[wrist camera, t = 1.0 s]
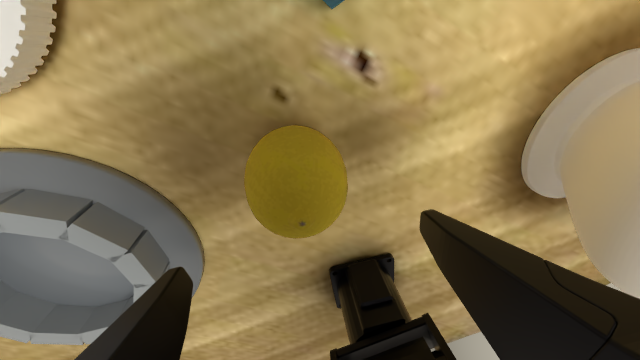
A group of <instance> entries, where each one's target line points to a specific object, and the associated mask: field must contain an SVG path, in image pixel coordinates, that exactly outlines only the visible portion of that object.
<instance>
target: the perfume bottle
mask: <svg viewBox="0 0 640 360" xmlns="http://www.w3.org/2000/svg"><path fill="white" fill-rule="evenodd" d="M323 1H324V2H325V3H326V4H327V5H328V6H329V7H330V8H331V9H333V8H334V7H336V6H337V5H339V4H340V3H341V2H343V1H344V0H323Z"/></svg>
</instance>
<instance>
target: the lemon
mask: <svg viewBox="0 0 640 360" xmlns="http://www.w3.org/2000/svg"><path fill="white" fill-rule="evenodd" d="M244 185H245V191H246V196H247V201H248V204H249V206H250V208H251V210H252V212H253V214H254V216H255V217H256V219H257V220H258V221H259V222H260V223H261V224H262V225H263V226H264V227H265V228H267V229H268V230H270V231H271V232H273V233H275V234H278V235H281V236H284V237H288V238H306V237H310V236H314V235H316V234H318V233H320V232H322V231H324V230H325V229H326V228H328V227H329V226H330V225H332V223H333V222H334V221H335V220H336V219H337V218H338V216H339V215H340V213H341V211H342V209H343V207H344V205H345V201H346V196H347V190H348V184H347V172H346V167H345V165H344V162H343V159H342V157H341V154H340V152H339V151H338V149H337V148H336V147H335V146H334V144H333V143H332V142H331V141H330V140H329V139H328V138H327V137H325V136H324V135H323V134H322V133H320V132H319V131H316V130H314V129H311V128H309V127H305V126H298V125H292V126H284V127H281V128H278V129H275V130H273V131H271V132H270V133H268V134H267V135H265V136H264V137H263V138H262V139H261V140H260V141H259V142H258V143H257V145H256V146H255V147H254V148H253V150H252V152H251V154H250V156H249V159H248V161H247V163H246V168H245V178H244Z"/></svg>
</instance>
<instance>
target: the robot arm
mask: <svg viewBox="0 0 640 360" xmlns="http://www.w3.org/2000/svg"><path fill="white" fill-rule="evenodd" d="M420 232H421V234H422V236H423V238H424V240H425V242H426V244H427V246H428V248H429V250H430V251H431V253H432V255H433V257H434V259H435V261H436V263H437V265H438V266H439V268H440V270H441V272H442V273H443V275H444V276H445V278H446V279H447V281H448V282H449V284H450V285H451V287H452V288H453V290H454V291H455V293H456V294H457V296H458V297H459V299H460V300H461V302H462V303H463V305H464V306H465V308H466V309H467V311H468V312H469V314H470V315H471V317H472V318H473V320H474V321H475V323H476V324H477V326H478V327H479V329H480V330H481V332H482V333H483V335H484V336H485V337H486V339H487V341H488V342H489V344H490V345H491V347H492V348H493V349H494V351H495V352H496V354H497V356H498V357H499V358H500V360H640V299H639V298H636V297H634V296H631V295H629V294H626V293H624V292H621V291H618V290H616V289H613V288H611V287H608V286H606V285H603V284H601V283H598V282H596V281H593V280H591V279H588V278H586V277H584V276H581V275H579V274H577V273H574V272H572V271H570V270H567V269H565V268H563V267H561V266H558V265H556V264H554V263H552V262H549V261H547V260H543V259H542V258H540V257H538V256H536V255H534V254H531V253H529V252H527V251H525V250H522V249H520V248H518V247H516V246H514V245H511V244H509V243H507V242H505V241H502V240H500V239H498V238H496V237H493V236H491V235H489V234H487V233H485V232H482V231H480V230H478V229H476V228H473V227H471V226H469V225H467V224H464V223H462V222H460V221H458V220H456V219H453V218H451V217H449V216H447V215H444V214H442V213H440V212H438V211H436V210H433V209H430V210H426V211H423V212H421V217H420ZM329 272H330V277H331V281H332V286H333V291H334V296H335V300H336V305H337V308H342V312H343V316H344V320H345V325H346V329H347V333H348V337H349V341H350V345H347V346H345V347H342V348H339V349H333V350H331V351H330V360H456V358H455V356H454V355H453V353H452V351H451V350H450V348H449V347H448V345H447V343H446V342H445V340H444V338H443V337H442V335H441V333H440V332H439V330H438V328H437V327H436V325H435V324H434V322H433V320H432V319H431V317H430V315H429V314H428V313H426V314H424V315H422V317H420V318H417V319H414V320H411V318H410V316H409V313H408V311H407V309H406V307H405V305H404V303H403V301H402V299H401V297H400V295H399V293H398V291H397V289H396V287H395V284H394V258H393V256H392V255H391V254H386V255H382V256H378V257H373V258H369V259H365V260H361V261H356V262H352V263H348V264H344V265H340V266H335V267H332V268H331V269H330V270H329ZM192 292H193V281H192V279H191V277H190V276H189V275H188V273H187V272H186V270H185V269H184V268H183V267H175V268H171V269H169V270H168V271H166V272H165V273H164V274H163V275H162V276H161V277H160V278H159V279H158V280H157V281H156V282H155V283H154V284H153V285H152V286H151V287H150V288H149V289H148V290H147V291H146V292H145V293H144V294H142V295H141V296H140V297H139V298H138V299H137V300H136V301H135V302H134V303H133V304H132V305H131V306H130V307H129V308H128V309H127V310H126V311H125V312H124V313H123V314H122V315H121V316H119V317H118V318H117V319H116V320H115V321H114V322H113V323H112V324H111V325H110V326H109V327H108V328H107V329H106V330H105V331H104V332H103V333H102V334H101V335H100V336H99V337H98V338H96V339H95V340H94V341H93V342H92V343H91V344H90V345H89V346H88V347H87V348H86V349H85V350H84V351H83V352H82V353H81V354H80V355H79V356H78V357H77V358H76V359H75V360H179V359H180V355H181V351H182V347H183V343H184V339H185V335H186V331H187V325H188V319H189V312H190V306H191V299H192ZM432 348H435V351H433V352H431V350H430V349H432Z"/></svg>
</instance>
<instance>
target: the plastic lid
mask: <svg viewBox="0 0 640 360" xmlns="http://www.w3.org/2000/svg"><path fill="white" fill-rule="evenodd" d="M52 4H56V0H0V94H4V93H8V92H11V89H12V88H18V87H20V86H21V84H20V82H25V81H28V80H29V79H30V78H29V76H28V75H29V74H35V73H36V72H37V69H36V68H35V66H39V65H42V64H43V63H44V61H43V60H42V59H41V57H42V56H47V55H48V53H49V51H48V50H47V49H46V46H47V45H51V44H52V42H53V39H52V38H51V37H50V32H55V26H54V25H53V24H52V19H56V16H57V13H56V12H55V11H53V9H52ZM0 96H1V95H0Z"/></svg>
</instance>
